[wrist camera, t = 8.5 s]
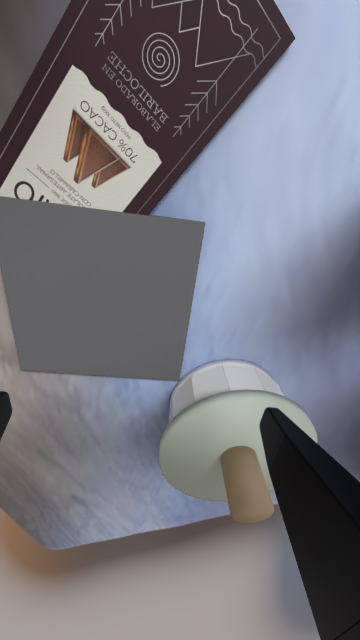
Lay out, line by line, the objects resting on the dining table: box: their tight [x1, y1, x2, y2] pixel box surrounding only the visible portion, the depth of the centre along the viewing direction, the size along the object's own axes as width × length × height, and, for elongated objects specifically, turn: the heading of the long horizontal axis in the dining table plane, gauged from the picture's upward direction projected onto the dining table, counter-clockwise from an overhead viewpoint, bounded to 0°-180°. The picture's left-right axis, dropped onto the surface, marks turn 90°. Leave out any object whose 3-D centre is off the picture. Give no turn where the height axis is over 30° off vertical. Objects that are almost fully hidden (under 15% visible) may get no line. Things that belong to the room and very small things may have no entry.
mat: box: [0, 196, 205, 381], centre depth 20 cm, size 14×14×1 cm
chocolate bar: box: [0, 0, 295, 215], centre depth 15 cm, size 9×1×18 cm
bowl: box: [169, 359, 284, 422], centre depth 24 cm, size 11×11×5 cm
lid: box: [159, 390, 318, 524], centre depth 20 cm, size 13×13×5 cm
